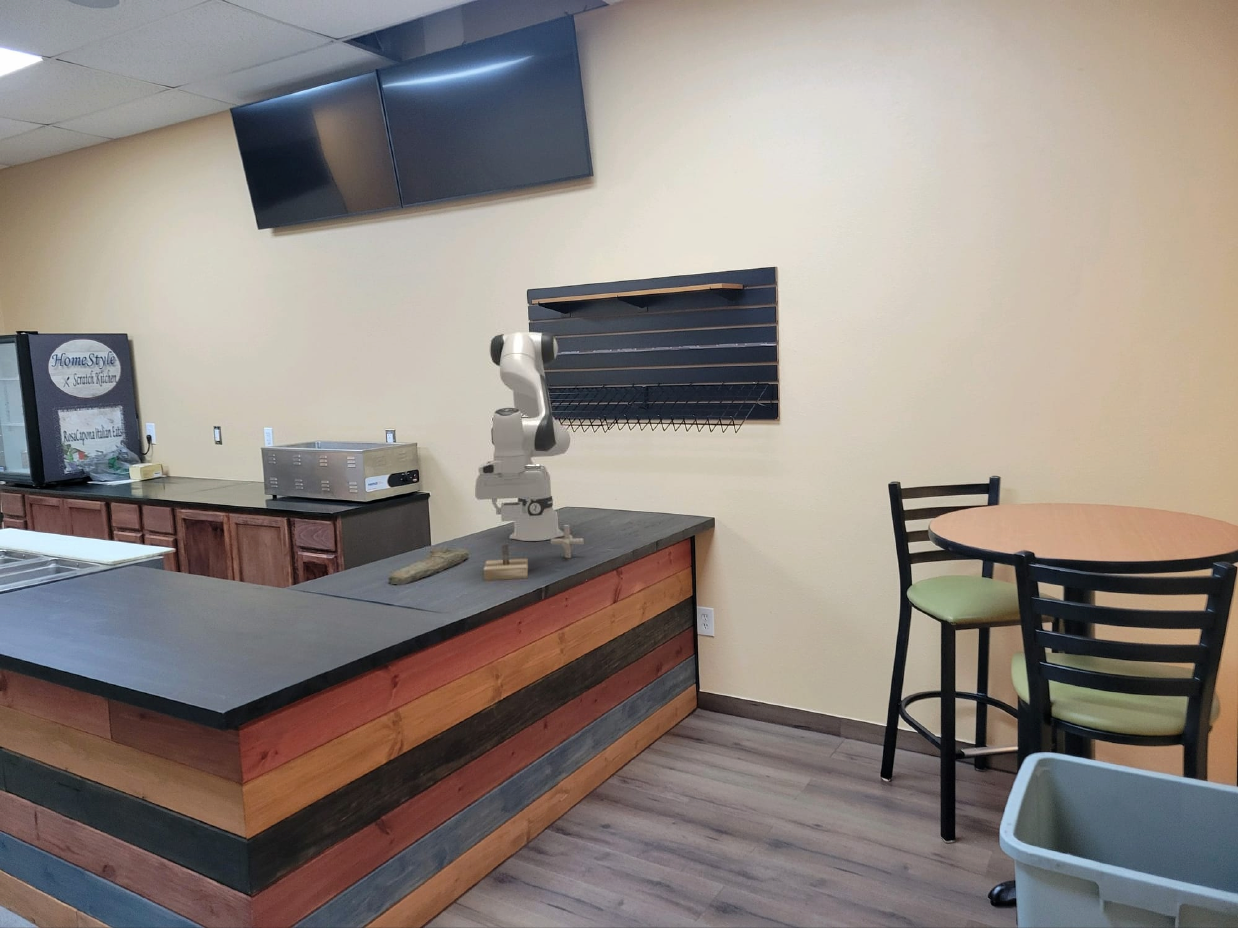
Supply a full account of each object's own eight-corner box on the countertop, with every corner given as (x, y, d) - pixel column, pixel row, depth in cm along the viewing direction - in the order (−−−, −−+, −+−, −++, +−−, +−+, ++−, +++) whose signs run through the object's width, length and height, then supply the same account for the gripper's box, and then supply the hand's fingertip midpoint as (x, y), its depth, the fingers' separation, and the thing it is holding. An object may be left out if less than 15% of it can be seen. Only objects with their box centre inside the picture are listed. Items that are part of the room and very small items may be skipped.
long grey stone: (379, 589, 240) (408, 593, 236) (378, 571, 239) (407, 575, 235) (449, 555, 272) (476, 558, 268) (448, 539, 271) (475, 542, 267)
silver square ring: (502, 517, 247) (501, 502, 247) (523, 516, 248) (522, 501, 247) (501, 521, 241) (500, 506, 241) (522, 520, 242) (522, 505, 241)
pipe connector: (586, 553, 268) (584, 522, 267) (581, 560, 259) (580, 528, 257) (554, 553, 269) (553, 522, 268) (549, 561, 260) (547, 528, 258)
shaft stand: (487, 570, 251) (485, 541, 250) (528, 567, 252) (526, 539, 251) (484, 580, 239) (482, 550, 238) (527, 577, 240) (525, 548, 239)
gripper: (546, 462, 247) (548, 509, 248) (474, 465, 245) (477, 513, 246) (546, 465, 241) (548, 513, 242) (473, 468, 239) (475, 517, 240)
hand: (512, 513), depth 244 cm, fingers closed on silver square ring, 6 cm apart
